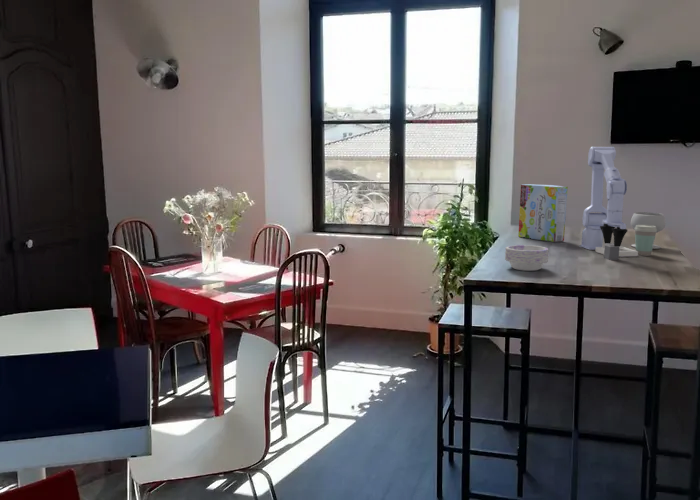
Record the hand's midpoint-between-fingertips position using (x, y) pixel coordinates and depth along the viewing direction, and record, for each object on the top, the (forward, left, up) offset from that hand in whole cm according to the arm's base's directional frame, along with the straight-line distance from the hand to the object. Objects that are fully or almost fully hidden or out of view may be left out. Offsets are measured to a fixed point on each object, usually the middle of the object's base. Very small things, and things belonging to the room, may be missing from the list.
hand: (612, 244), depth 257 cm
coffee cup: (-8, +19, -6) cm, 21 cm away
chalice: (-25, +30, -6) cm, 40 cm away
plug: (0, 0, -6) cm, 6 cm away
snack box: (-52, -7, -6) cm, 53 cm away
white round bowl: (+16, -42, -6) cm, 45 cm away
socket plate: (-11, +8, -6) cm, 14 cm away
